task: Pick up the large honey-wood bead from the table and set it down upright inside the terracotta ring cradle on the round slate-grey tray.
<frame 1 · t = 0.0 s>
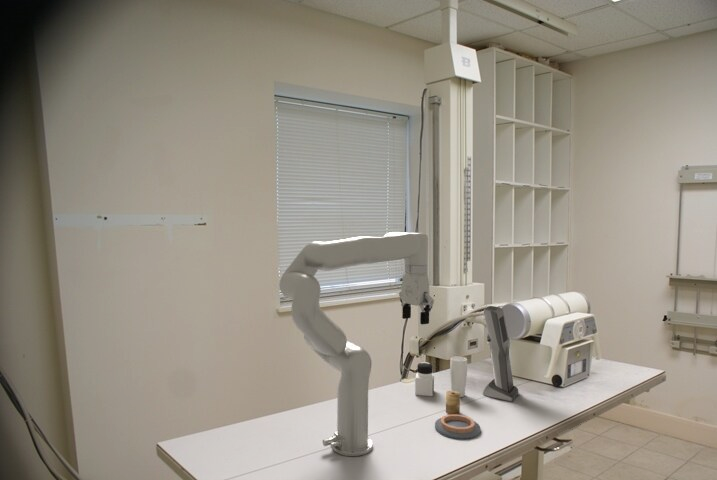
hand: (415, 321, 152), 37 cm above the table, tool pointing down, fingers open, 9 cm apart
wooden bead: (452, 412, 168), on the table
medicine bottle: (424, 393, 187), on the table
ring tray: (457, 428, 155), on the table
drinking glass: (458, 395, 184), on the table
thermal camera: (501, 395, 186), on the table
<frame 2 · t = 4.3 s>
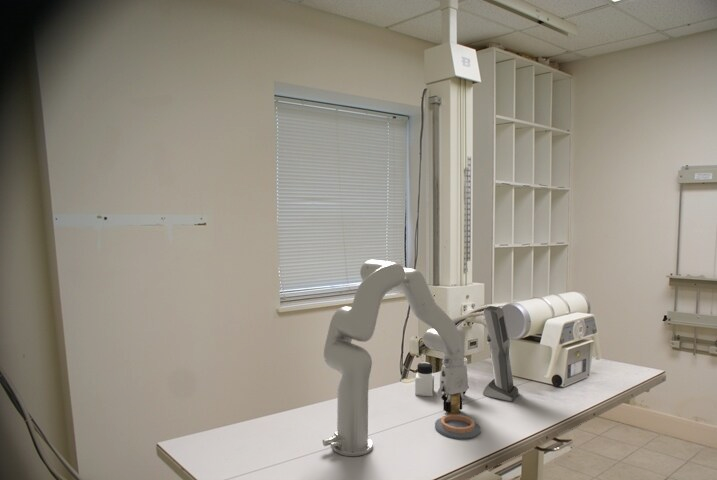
hand: (452, 409, 168), 1 cm above the table, tool pointing down, fingers closed on wooden bead, 4 cm apart
wooden bead: (452, 412, 168), on the table, touching gripper
everything else where it was.
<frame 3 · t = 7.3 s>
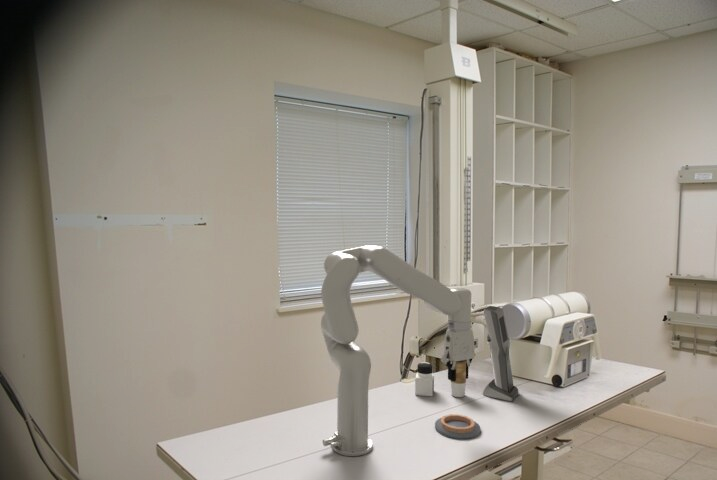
hand: (458, 378, 154), 17 cm above the table, tool pointing down, fingers closed on wooden bead, 4 cm apart
wooden bead: (458, 381, 154), point 16 cm above the table, touching gripper
everything else where it was.
when the fingers open (3 cm above the table, at t = 10.3 s): wooden bead drops 1 cm, resting on ring tray.
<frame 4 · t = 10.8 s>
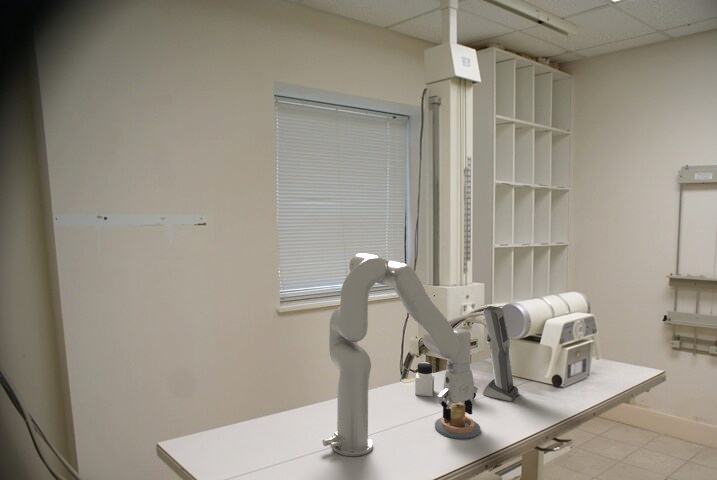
hand: (457, 416, 154), 4 cm above the table, tool pointing down, fingers open, 9 cm apart
wooden bead: (457, 425, 154), point 1 cm above the table, touching ring tray
everything else where it was.
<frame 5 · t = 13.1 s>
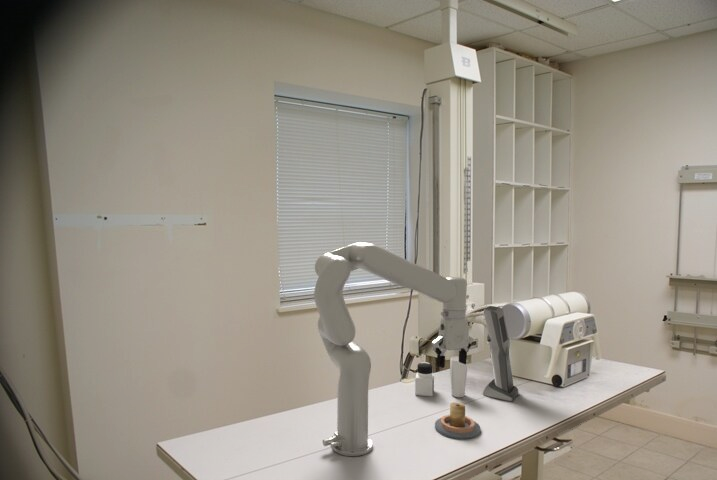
hand: (451, 364, 153), 22 cm above the table, tool pointing down, fingers open, 9 cm apart
nothing on the table moved.
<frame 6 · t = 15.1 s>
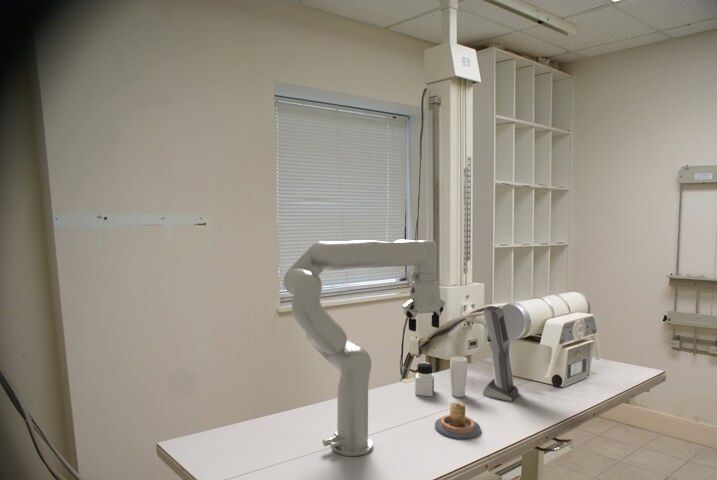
hand: (424, 328, 152), 34 cm above the table, tool pointing down, fingers open, 9 cm apart
nothing on the table moved.
at the end: wooden bead 0.1 cm off-centre on the ring tray, point 1.0 cm above the ring tray's base; wooden bead tilted 0°; the gripper is holding nothing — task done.
